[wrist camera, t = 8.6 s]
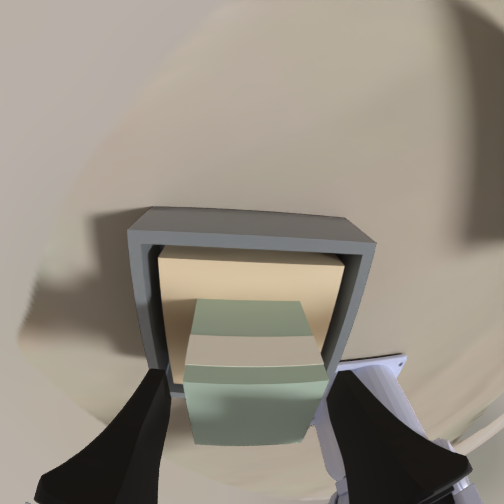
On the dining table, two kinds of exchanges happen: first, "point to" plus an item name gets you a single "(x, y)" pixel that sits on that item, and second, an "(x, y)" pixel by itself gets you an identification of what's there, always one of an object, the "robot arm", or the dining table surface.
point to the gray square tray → (245, 237)
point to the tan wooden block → (243, 287)
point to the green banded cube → (251, 373)
